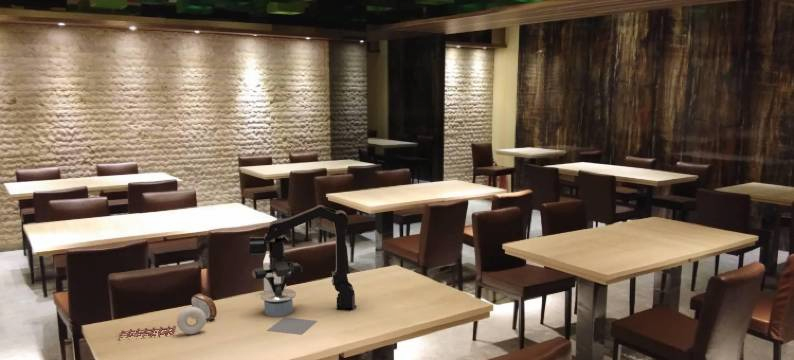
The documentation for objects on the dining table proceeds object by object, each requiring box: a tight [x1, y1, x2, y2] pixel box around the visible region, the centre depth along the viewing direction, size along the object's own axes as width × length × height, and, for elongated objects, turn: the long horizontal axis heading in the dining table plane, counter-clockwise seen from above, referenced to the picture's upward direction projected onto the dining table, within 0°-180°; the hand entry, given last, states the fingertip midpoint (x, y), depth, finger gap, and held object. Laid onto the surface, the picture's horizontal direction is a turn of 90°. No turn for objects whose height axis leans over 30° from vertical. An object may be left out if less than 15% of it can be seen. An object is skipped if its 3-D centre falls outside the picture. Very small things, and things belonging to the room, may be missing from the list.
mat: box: [266, 316, 318, 336], centre depth 228 cm, size 14×14×1 cm
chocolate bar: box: [118, 325, 177, 339], centre depth 222 cm, size 7×19×2 cm, turn 102°
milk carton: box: [262, 250, 287, 292], centre depth 264 cm, size 7×7×19 cm
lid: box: [260, 283, 297, 302], centre depth 242 cm, size 14×14×5 cm
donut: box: [176, 306, 207, 335], centre depth 222 cm, size 10×4×10 cm, turn 113°
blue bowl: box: [263, 298, 294, 318], centre depth 243 cm, size 11×11×6 cm
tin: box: [190, 293, 218, 321], centre depth 239 cm, size 15×3×8 cm, turn 47°
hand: (278, 291), depth 242 cm, fingers closed on lid, 3 cm apart
